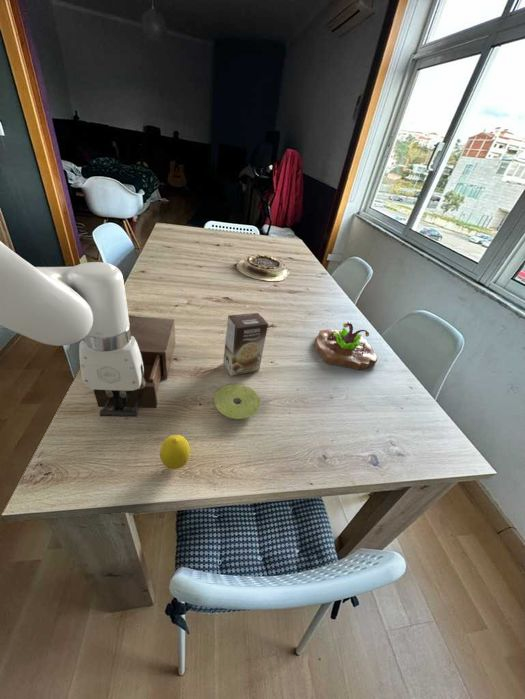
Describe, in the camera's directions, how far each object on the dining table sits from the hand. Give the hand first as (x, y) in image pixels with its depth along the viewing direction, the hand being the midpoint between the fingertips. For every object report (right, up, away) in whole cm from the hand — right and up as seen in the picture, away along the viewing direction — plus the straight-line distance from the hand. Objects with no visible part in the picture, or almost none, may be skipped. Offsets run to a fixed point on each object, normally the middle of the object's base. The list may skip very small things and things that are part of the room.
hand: (121, 405), depth 62 cm
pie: (+31, +53, +87) cm, 106 cm away
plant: (+57, +11, +38) cm, 70 cm away
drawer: (-1, +1, +8) cm, 8 cm away
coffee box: (+24, +7, +23) cm, 34 cm away
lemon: (+13, -11, -4) cm, 17 cm away
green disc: (+24, -2, +11) cm, 26 cm away
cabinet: (-3, +9, +20) cm, 22 cm away
